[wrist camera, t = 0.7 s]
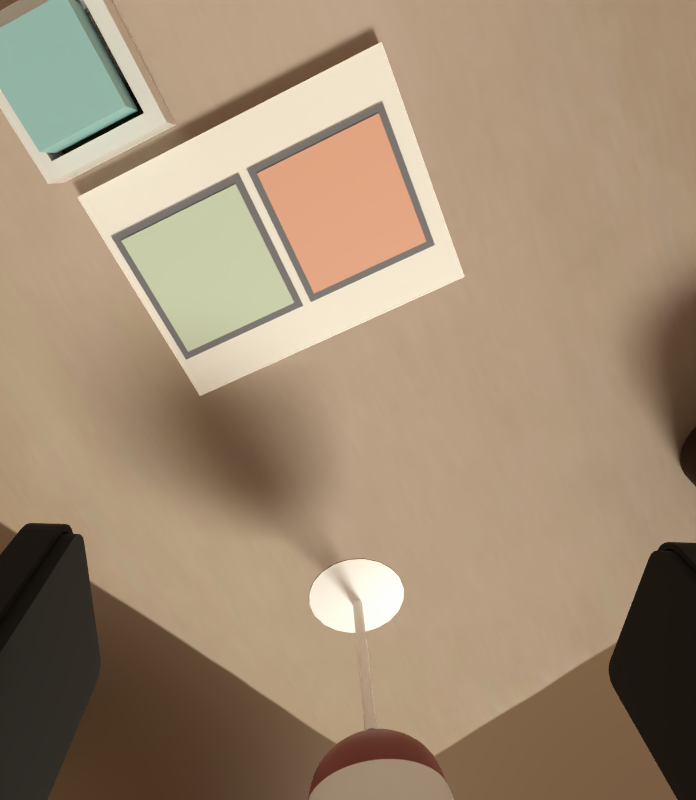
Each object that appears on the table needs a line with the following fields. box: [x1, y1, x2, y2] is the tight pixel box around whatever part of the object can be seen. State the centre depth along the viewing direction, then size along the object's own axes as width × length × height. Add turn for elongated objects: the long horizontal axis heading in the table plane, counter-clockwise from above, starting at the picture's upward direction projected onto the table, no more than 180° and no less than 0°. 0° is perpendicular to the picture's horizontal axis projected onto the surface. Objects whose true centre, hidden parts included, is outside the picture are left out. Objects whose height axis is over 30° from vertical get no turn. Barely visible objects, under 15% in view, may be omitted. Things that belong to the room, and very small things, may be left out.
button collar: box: [0, 0, 175, 184], centre depth 27 cm, size 7×7×2 cm
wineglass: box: [308, 559, 454, 800], centre depth 33 cm, size 8×9×20 cm
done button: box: [0, 0, 138, 153], centre depth 26 cm, size 5×5×2 cm
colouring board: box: [77, 42, 464, 396], centre depth 31 cm, size 18×13×1 cm
